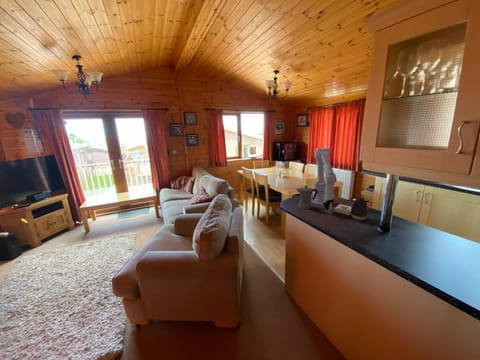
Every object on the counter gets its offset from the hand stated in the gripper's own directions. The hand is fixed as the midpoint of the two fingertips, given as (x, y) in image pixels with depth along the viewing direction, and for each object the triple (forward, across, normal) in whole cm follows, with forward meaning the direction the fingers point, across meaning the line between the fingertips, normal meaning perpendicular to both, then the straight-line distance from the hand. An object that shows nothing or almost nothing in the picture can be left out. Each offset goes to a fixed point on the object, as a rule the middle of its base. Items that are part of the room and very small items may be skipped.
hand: (328, 208), depth 145 cm
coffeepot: (+3, -2, +16) cm, 16 cm away
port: (+3, +9, -8) cm, 12 cm away
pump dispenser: (+3, +4, -19) cm, 20 cm away
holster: (+3, 0, 0) cm, 3 cm away
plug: (+2, 0, 0) cm, 2 cm away
